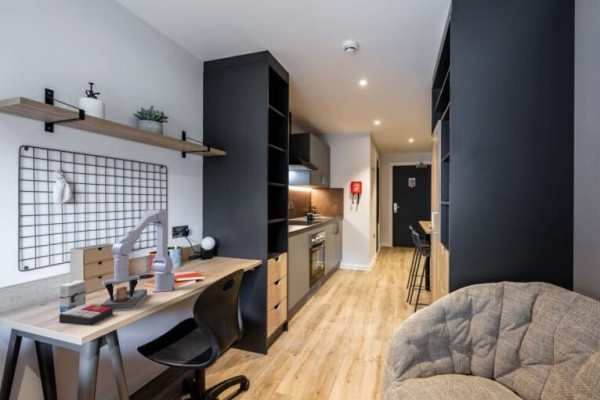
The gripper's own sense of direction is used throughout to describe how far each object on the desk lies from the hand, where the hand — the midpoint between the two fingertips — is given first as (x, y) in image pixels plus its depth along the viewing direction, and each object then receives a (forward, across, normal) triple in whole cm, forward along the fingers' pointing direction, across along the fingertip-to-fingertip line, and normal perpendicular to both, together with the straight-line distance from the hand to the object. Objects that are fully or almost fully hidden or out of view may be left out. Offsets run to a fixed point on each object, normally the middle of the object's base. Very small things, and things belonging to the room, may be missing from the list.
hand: (121, 298), depth 135 cm
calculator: (+4, +14, +5) cm, 15 cm away
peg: (+3, 0, 0) cm, 3 cm away
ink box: (+4, +16, -12) cm, 20 cm away
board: (+4, -3, -4) cm, 6 cm away
